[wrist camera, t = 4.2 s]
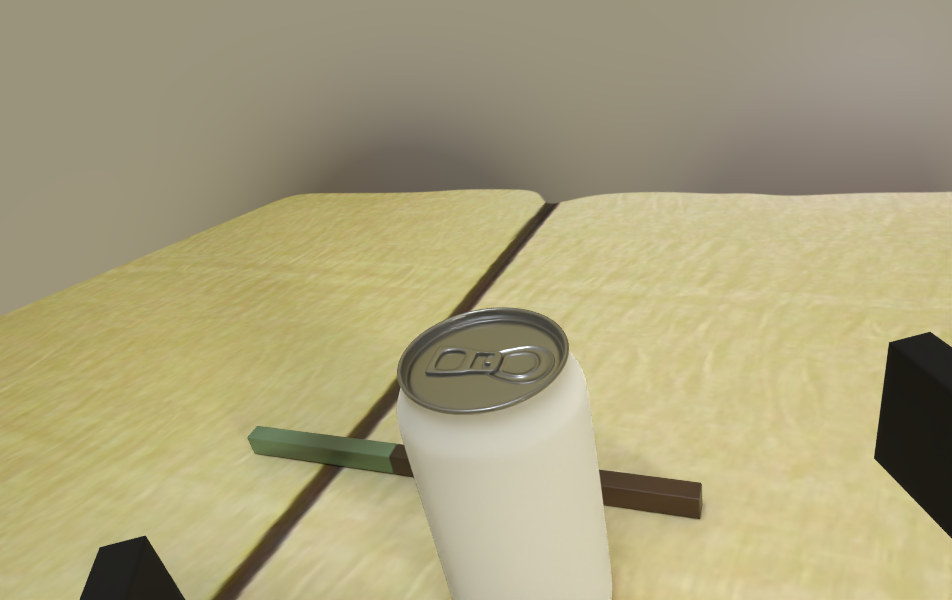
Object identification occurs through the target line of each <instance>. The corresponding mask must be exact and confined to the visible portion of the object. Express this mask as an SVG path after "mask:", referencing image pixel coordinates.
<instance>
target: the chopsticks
mask: <svg viewBox="0 0 952 600" xmlns="http://www.w3.org/2000/svg"><path fill="white" fill-rule="evenodd" d="M248 440H249V442H250V445H251V447H252V449H253V451H254V453H257V454H264V455H271V456H278V457H284V458H291V459H298V460H305V461H312V462H318V463H325V464H332V465H339V466H346V467H352V468H359V469H366V470H373V471H380V472H386V473H395V474H400V475H407V476H414V475H413V472H412V469H411V466H410V463H409V459H408V456H407V453H406V449H405V446H404V445H402V444H394V443H386V442H378V441H371V440H363V439H355V438H347V437H339V436H332V435H324V434H316V433H308V432H300V431H293V430H285V429H277V428H269V427H261V426H257V427H256V428H255V429H254V430H253V432H252V433H251V434H250V435H249V436H248ZM599 475H600V483H601V491H602V498H603V504H604V505H611V506H618V507H624V508H631V509H638V510H645V511H652V512H658V513H665V514H672V515H679V516H686V517H692V518H700V515H701V508H702V484H701V483H699V482H691V481H683V480H675V479H667V478H659V477H652V476H644V475H636V474H628V473H620V472H613V471H605V470H599Z"/></svg>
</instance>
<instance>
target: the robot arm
mask: <svg viewBox="0 0 952 600" xmlns="http://www.w3.org/2000/svg"><path fill="white" fill-rule="evenodd" d="M874 459H875V460H876V461H877V462H878V463H879V464H880V465H881V466H882V467H883V468H884V469H885V470H886V471H887V472H888V473H889V474H890V475H891V476H892V477H893V478H894V479H895V480H896V481H897V482H898V483H899V484H900V485H901V486H902V487H903V489H904V490H905V491H906V492H907V493H908V494H909V495H910V496H911V497H912V498H913V499H914V500H915V501H916V502H917V503H918V504H919V505H920V506H921V507H922V508H923V509H924V510H925V511H926V512H927V513H928V514H929V515H930V516H931V517H932V519H933V520H934V521H935V522H936V523H937V524H938V525H939V526H940V527H941V528H942V529H943V530H944V531H945V532H946V533H947V534H948V535H949V536H950V537H951V538H952V347H951V346H949V345H948V344H946V343H945V342H944V341H942V340H941V339H939V338H938V337H937V336H935V335H934V334H933V333H931V332H928V333H924V334H920V335H916V336H912V337H908V338H905V339H901V340H897V341H893V342H889V347H888V355H887V363H886V370H885V378H884V386H883V393H882V401H881V409H880V417H879V424H878V432H877V440H876V447H875V455H874ZM80 600H185V598H184V597H183V595H182V594H181V592H180V590H179V589H178V587H177V585H176V584H175V582H174V581H173V579H172V577H171V576H170V574H169V573H168V571H167V569H166V568H165V566H164V565H163V563H162V561H161V560H160V558H159V556H158V555H157V553H156V552H155V550H154V548H153V547H152V545H151V544H150V542H149V540H148V539H147V537H146V536H142V537H138V538H134V539H130V540H127V541H123V542H119V543H115V544H111V545H107V546H103V547H100V548H99V551H98V553H97V556H96V558H95V561H94V564H93V566H92V569H91V571H90V574H89V577H88V579H87V582H86V584H85V587H84V590H83V592H82V595H81V597H80Z"/></svg>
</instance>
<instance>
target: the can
mask: <svg viewBox="0 0 952 600" xmlns="http://www.w3.org/2000/svg"><path fill="white" fill-rule="evenodd" d="M397 378H398V382H399V385H400V387H401V389H400V392H399V397H398V402H397V418H398V424H399V428H400V432H401V436H402V439H403V443H404V446H405V449H406V453H407V456H408V459H409V463H410V466H411V469H412V472H413V475H414V479H415V482H416V485H417V488H418V492H419V495H420V498H421V501H422V504H423V508H424V511H425V514H426V517H427V520H428V523H429V527H430V530H431V533H432V536H433V539H434V542H435V546H436V549H437V552H438V555H439V558H440V561H441V565H442V568H443V571H444V574H445V577H446V580H447V583H448V586H449V589H450V592H451V595H452V599H453V600H611V599H612V572H611V563H610V554H609V546H608V538H607V530H606V522H605V514H604V506H603V498H602V491H601V483H600V475H599V467H598V460H597V452H596V444H595V437H594V429H593V422H592V415H591V408H590V400H589V394H588V388H587V383H586V379H585V375H584V372H583V370H582V368H581V366H580V364H579V363H578V361H577V360H576V358H575V357H574V356H573V355H572V353H571V352H570V351H569V343H568V339H567V337H566V334H565V333H564V331H563V330H562V328H561V327H560V326H559V325H558V324H557V323H556V322H554V321H553V320H551V319H550V318H548V317H546V316H544V315H542V314H539V313H536V312H533V311H529V310H525V309H518V308H488V309H480V310H475V311H470V312H466V313H463V314H459V315H456V316H454V317H451V318H448V319H446V320H444V321H442V322H439V323H438V324H436V325H434V326H432V327H430V328H429V329H427V330H426V331H424V332H423V333H422V334H420V335H419V336H418V337H417V338H415V339H414V340H413V341H412V342H411V343H410V345H409V346H408V347H407V348H406V350H405V351H404V353H403V354H402V356H401V358H400V361H399V364H398V369H397Z"/></svg>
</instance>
